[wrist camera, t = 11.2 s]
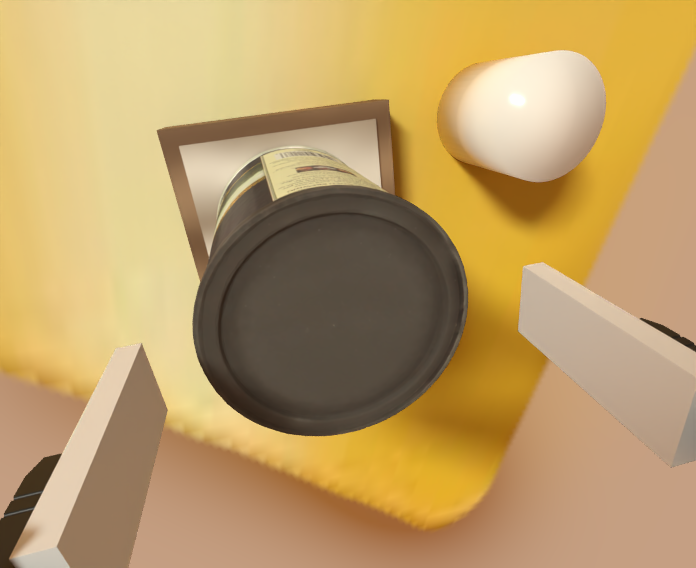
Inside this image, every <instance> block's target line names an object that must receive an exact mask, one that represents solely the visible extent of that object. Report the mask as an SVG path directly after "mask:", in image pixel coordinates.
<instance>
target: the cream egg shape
mask: <svg viewBox="0 0 696 568" xmlns="http://www.w3.org/2000/svg"><path fill="white" fill-rule="evenodd" d="M605 108H606V95H605V88H604V84H603V80H602V78H601V76H600V73H599V72H598V70H597V68H596V67H595V66H594V65H593V63H592V62H591V61H590V60H588V59H587V58H586V57H584V56H583V55H581V54H579V53H576V52H573V51H566V50H561V51H552V52H545V53H539V54H532V55H525V56H519V57H512V58H506V59H499V60H493V61H486V62H480V63H476V64H473V65H470V66H468V67H467V68H465V69H463V70H462V71H461V72H459V73H458V74H457V75H456V76H455V77H454V78H453V79H452V80H451V81H450V83H449V84H448V86H447V87H446V89H445V91H444V93H443V95H442V97H441V100H440V103H439V107H438V113H437V128H438V133H439V136H440V139H441V142H442V144H443V146H444V147H445V149H446V150H447V151H448V152H449V153H450V154H451V155H452V156H453V157H454V158H456V159H458V160H459V161H462V162H464V163H468V164H471V165H475V166H478V167H482V168H485V169H488V170H492V171H495V172H499V173H502V174H506V175H509V176H512V177H516V178H519V179H523V180H526V181H531V182H546V181H550V180H554V179H556V178H559V177H561V176H563V175H565V174H567V173H568V172H570V171H571V170H572V169H574V168H575V167H576V166H577V165H578V164H579V163H580V162H581V161H582V160H583V159H584V158H585V157H586V155H587V154H588V153H589V152H590V150H591V148H592V147H593V145H594V144H595V142H596V140H597V138H598V135H599V133H600V130H601V128H602V124H603V121H604V116H605Z"/></svg>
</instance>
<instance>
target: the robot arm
mask: <svg viewBox="0 0 696 568" xmlns="http://www.w3.org/2000/svg"><path fill="white" fill-rule="evenodd" d="M518 332H520V333H521V334H522V335H523V336H524V337H525V338H526V339H527V340H529V341H530V342H531V343H532V344H533V345H534V346H535V347H536V348H537V349H539V350H540V351H541V352H542V353H543V354H544V355H545V356H546V357H548V358H549V359H550V360H551V361H552V362H553V363H554V364H555V365H557V366H558V367H559V368H560V369H561V370H562V371H563V372H564V373H566V374H567V375H568V376H569V377H570V378H571V379H572V380H573V381H574V382H576V383H577V384H578V385H579V386H580V387H581V388H583V390H585V391H586V392H587V393H588V394H589V395H590V396H591V397H592V398H593V399H595V400H596V401H597V402H598V403H599V404H600V405H601V406H602V407H604V408H605V409H606V410H607V411H608V412H609V413H610V414H611V415H612V416H614V417H615V418H616V419H617V420H618V421H619V422H620V423H621V424H622V425H624V426H625V427H626V428H627V429H628V430H629V431H630V432H632V433H633V434H634V435H635V436H636V437H637V438H638V439H639V440H640V441H642V442H643V443H644V444H645V445H646V446H647V447H648V448H649V449H650V450H652V451H653V452H654V453H655V454H656V455H657V456H658V457H659V458H661V459H662V460H663V461H664V462H665V463H666V464H667V465H668V466H669V467H671V468H672V467H675V466H678V465H682V464H685V463H689V462H692V461H695V460H696V346H695V345H694V343H693V342H691V341H690V340H688V339H686V338H684V337H680V335H679V334H677V333H675V332H674V331H672V330H670V329H669V328H667V327H665V326H663V325H661V324H658V323H655V322H652V321H649V320H646V319H643V318H640V319H638V318H637V317H635V316H633V315H632V314H630V313H628V312H626V311H624V310H623V309H621V308H620V307H618V306H616V305H614V304H613V303H611V302H609V301H608V300H606V299H604V298H603V297H601V296H599V295H597V294H596V293H594V292H592V291H591V290H589V289H587V288H586V287H584V286H582V285H580V284H579V283H577V282H575V281H574V280H572V279H570V278H568V277H567V276H565V275H563V274H562V273H560V272H558V271H557V270H555V269H553V268H551V267H550V266H548V265H546V264H545V263H543V262H542V263H537V264H532V265H527V266H523V276H522V288H521V301H520V313H519V326H518ZM167 411H168V410H167V407H166V405H165V402H164V400H163V397H162V394H161V392H160V389H159V387H158V384H157V382H156V379H155V376H154V374H153V371H152V369H151V366H150V364H149V361H148V358H147V356H146V353H145V351H144V348H143V346H142V343H139V344H135V345H130V346H125V347H120V348H116V349H115V351H114V353H113V355H112V357H111V359H110V361H109V363H108V365H107V367H106V369H105V371H104V373H103V375H102V377H101V378H100V380H99V382H98V384H97V386H96V388H95V390H94V392H93V394H92V396H91V398H90V400H89V402H88V404H87V406H86V408H85V410H84V412H83V414H82V416H81V418H80V420H79V422H78V424H77V426H76V428H75V430H74V432H73V434H72V436H71V438H70V440H69V442H68V444H67V445H66V448H65V449H64V452H63V453H62V454H57V455H53V456H49V457H45V458H43V459H42V460H41V461H40V462H39V463H38V464H37V465H36V467H34V468H33V470H31V471H30V473H28V475H26V476H25V478H24V480H23V481H22V483H21V485H20V487H19V488H18V490H17V492H16V494H15V495H14V501H11V502H10V504H9V506H8V508H7V509H6V511H5V513H4V518H1V520H0V568H128V567H129V563H130V559H131V555H132V551H133V547H134V543H135V539H136V535H137V531H138V527H139V523H140V519H141V515H142V511H143V507H144V503H145V499H146V495H147V491H148V487H149V483H150V479H151V475H152V470H153V467H154V463H155V458H156V455H157V451H158V446H159V443H160V439H161V434H162V431H163V427H164V423H165V419H166V415H167Z"/></svg>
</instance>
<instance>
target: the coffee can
mask: <svg viewBox="0 0 696 568" xmlns="http://www.w3.org/2000/svg"><path fill="white" fill-rule="evenodd" d="M467 308H468V288H467V280H466V275H465V270H464V266H463V263H462V261H461V258H460V256H459V253H458V251H457V249H456V247H455V246H454V244H453V243H452V241H451V239H450V238H449V236H448V235H447V234H446V232H445V231H444V230H443V228H442V227H441V226H440V225H439V224H438V223H437V222H436V221H435V220H434V219H433V218H432V217H430V216H429V215H428V214H427V213H425V212H424V211H422V210H421V209H419V208H418V207H417V206H415V205H414V204H412V203H410V202H408V201H406V200H404V199H402V198H400V197H397V196H395V195H393V194H390V193H388V192H386V191H385V190H383V189H382V188H380V187H379V186H378V185H376V184H375V183H373V182H371V181H370V180H368V179H367V178H365V177H364V176H362V175H361V174H359V173H358V172H356V171H355V170H353V169H351V168H350V167H348V166H347V165H346V164H345V163H344V162H343V161H341V160H340V159H338V158H337V157H335V156H334V155H332V154H330V153H328V152H326V151H323V150H320V149H317V148H313V147H307V146H283V147H277V148H273V149H270V150H267V151H264V152H261V153H259V154H257V155H256V156H254V157H253V158H251V159H250V160H248V161H247V162H246V163H244V164H243V165H242V166H241V167H240V168H239V169H238V170H237V171H236V172H235V173H234V174H233V176H232V177H231V178H230V180H229V181H228V183H227V185H226V186H225V188H224V191H223V193H222V195H221V197H220V200H219V204H218V210H217V221H216V227H215V233H214V238H213V242H212V247H211V251H210V255H209V259H208V264H207V268H206V270H205V272H204V274H203V277H202V279H201V282H200V285H199V288H198V292H197V296H196V300H195V305H194V313H193V339H194V345H195V349H196V353H197V357H198V360H199V363H200V365H201V367H202V369H203V371H204V374H205V375H206V377H207V378H208V380H209V382H210V383H211V385H212V386H213V388H214V389H215V391H216V392H217V393H218V394H219V395H220V396H221V397H222V398H223V400H224V401H225V402H226V403H227V404H228V405H229V406H231V407H232V408H233V409H234V410H236V411H237V412H238V413H240V414H241V415H243V416H244V417H246V418H247V419H249V420H251V421H253V422H255V423H257V424H259V425H261V426H264V427H267V428H270V429H273V430H276V431H279V432H283V433H287V434H294V435H302V436H332V435H338V434H344V433H349V432H353V431H357V430H361V429H364V428H366V427H369V426H372V425H374V424H377V423H379V422H382V421H384V420H386V419H388V418H390V417H391V416H393V415H395V414H397V413H398V412H400V411H402V410H403V409H405V408H406V407H408V406H409V405H410V404H412V403H413V402H414V401H416V400H417V399H418V398H419V397H420V396H421V395H423V394H424V393H425V392H426V391H427V390H428V389H429V388H430V387H431V386H432V385H433V383H434V382H435V381H436V380H437V379H438V378H439V377H440V375H441V374H442V372H443V371H444V369H445V368H446V367H447V365H448V364H449V362H450V360H451V358H452V357H453V355H454V353H455V351H456V349H457V347H458V344H459V342H460V339H461V336H462V333H463V329H464V326H465V322H466V317H467Z"/></svg>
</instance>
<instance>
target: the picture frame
mask: <svg viewBox="0 0 696 568" xmlns="http://www.w3.org/2000/svg"><path fill="white" fill-rule="evenodd" d="M157 133H158V137H159V140H160V144H161V147H162V151H163V154H164V158H165V161H166V164H167V168H168V171H169V175H170V178H171V182H172V185H173V189H174V192H175V196H176V199H177V203H178V206H179V209H180V213H181V216H182V220H183V223H184V227H185V230H186V234H187V237H188V241H189V244H190V247H191V251H192V254H193V258H194V261H195V265H196V268H197V272H198V275H199V279H200V282H201V279H202V277H203V274H204V272H205V270H206V268H207V264H208V259H209V255H210V251H211V247H212V242H213V238H214V233H215V227H216V221H217V210H218V204H219V200H220V197H221V195H222V193H223V191H224V188H225V186H226V185H227V183H228V181H229V180H230V178H231V177H232V176H233V174H234V173H235V172H236V171H237V170H238V169H239V168H240V167H241V166H242V165H243V164H244V163H246V162H247V161H248V160H250V159H251V158H253V157H254V156H256V155H257V154H259V153H261V152H264V151H267V150H270V149H273V148H277V147H283V146H307V147H313V148H317V149H320V150H323V151H326V152H328V153H330V154H332V155H334V156H335V157H337V158H338V159H340V160H341V161H343V162H344V163H345V164H346V165H347V166H348V167H350V168H351V169H353V170H355V171H356V172H358V173H359V174H361V175H362V176H364V177H365V178H367V179H368V180H370V181H371V182H373V183H375V184H376V185H378V186H379V187H380V188H382V189H383V190H385V191H386V192H388V193H390V194H393V195H395V187H394V172H393V157H392V142H391V127H390V112H389V100H368V101H361V102H353V103H346V104H338V105H331V106H323V107H315V108H308V109H300V110H293V111H285V112H278V113H270V114H263V115H255V116H247V117H240V118H232V119H225V120H217V121H210V122H202V123H195V124H187V125H179V126H172V127H165V128H162V129H159V130H157Z"/></svg>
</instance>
